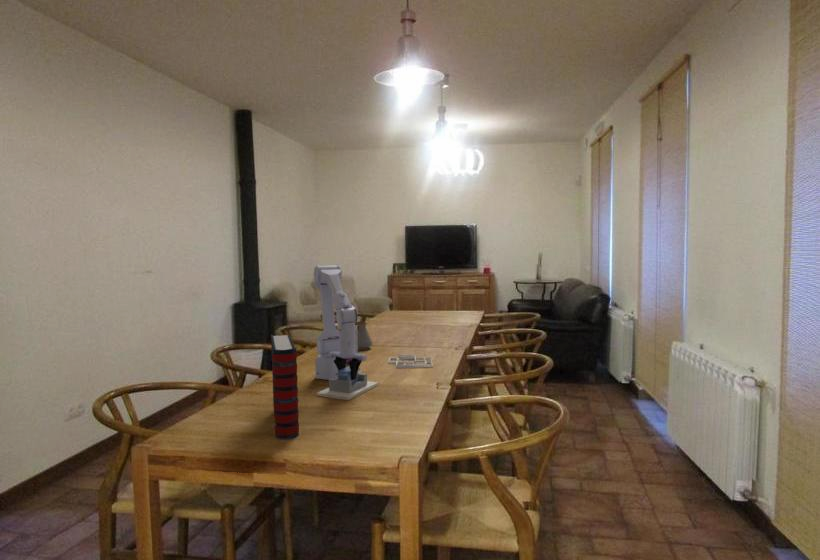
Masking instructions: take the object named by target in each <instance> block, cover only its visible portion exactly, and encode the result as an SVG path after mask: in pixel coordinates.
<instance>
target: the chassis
mask: <svg viewBox="0 0 820 560" xmlns="http://www.w3.org/2000/svg"><path fill="white" fill-rule="evenodd" d="M377 386H379V382H377V381H376V382H375V381H370V380H368V374H367V373H362V372H358V381H357V382H355V383H353V384H352V381H350V380H342V379H334V378H331V379H329V380H328V387H326V388H325V389H323V390H320V391H318V392H317V393H316V396H318V397H324V398H330V399H338V400H343V401H344V400H345V401H351V400H353V399H354V398H356V397H358V396H360V395H362V394H364V393H366V392H367V391H370V390H371V389H373V388H375V387H377Z"/></svg>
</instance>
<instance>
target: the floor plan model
mask: <svg viewBox="0 0 820 560" xmlns="http://www.w3.org/2000/svg"><path fill="white" fill-rule="evenodd" d="M401 360H403V361H401ZM407 360H408V361H407ZM417 363H424V364H417ZM427 364H428V365H427ZM429 364H430V365H429ZM388 365H395V368H396V369H427V368H428V369H432V368H434V366H433V361H432V358H431V357H417V356H416V354H398V357H388Z"/></svg>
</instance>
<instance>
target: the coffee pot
mask: <svg viewBox="0 0 820 560" xmlns="http://www.w3.org/2000/svg"><path fill="white" fill-rule="evenodd" d="M355 325H357V326H358V351H365V350H368V349H369V348H370V347H371V346H372V345H373V341H372V338H371V336H370V334H369V332H368V329H367V328H366V326H367V321H357V322H356V323H355Z"/></svg>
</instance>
